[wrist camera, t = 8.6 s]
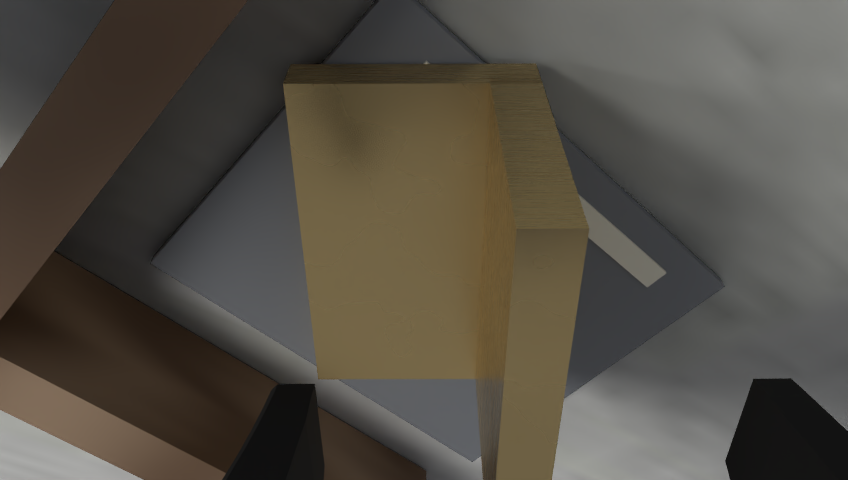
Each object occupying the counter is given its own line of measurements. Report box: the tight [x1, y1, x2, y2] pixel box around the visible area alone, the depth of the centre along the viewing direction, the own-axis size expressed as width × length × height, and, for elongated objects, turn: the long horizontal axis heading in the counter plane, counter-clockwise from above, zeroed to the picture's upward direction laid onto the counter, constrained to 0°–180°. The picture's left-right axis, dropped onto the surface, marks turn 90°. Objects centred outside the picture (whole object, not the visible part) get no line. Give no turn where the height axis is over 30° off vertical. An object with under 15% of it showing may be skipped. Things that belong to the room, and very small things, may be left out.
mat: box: [150, 0, 725, 462], centre depth 18 cm, size 11×9×1 cm
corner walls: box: [0, 0, 426, 480], centre depth 17 cm, size 14×14×4 cm
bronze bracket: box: [283, 64, 589, 480], centre depth 15 cm, size 8×5×6 cm, turn 0°
